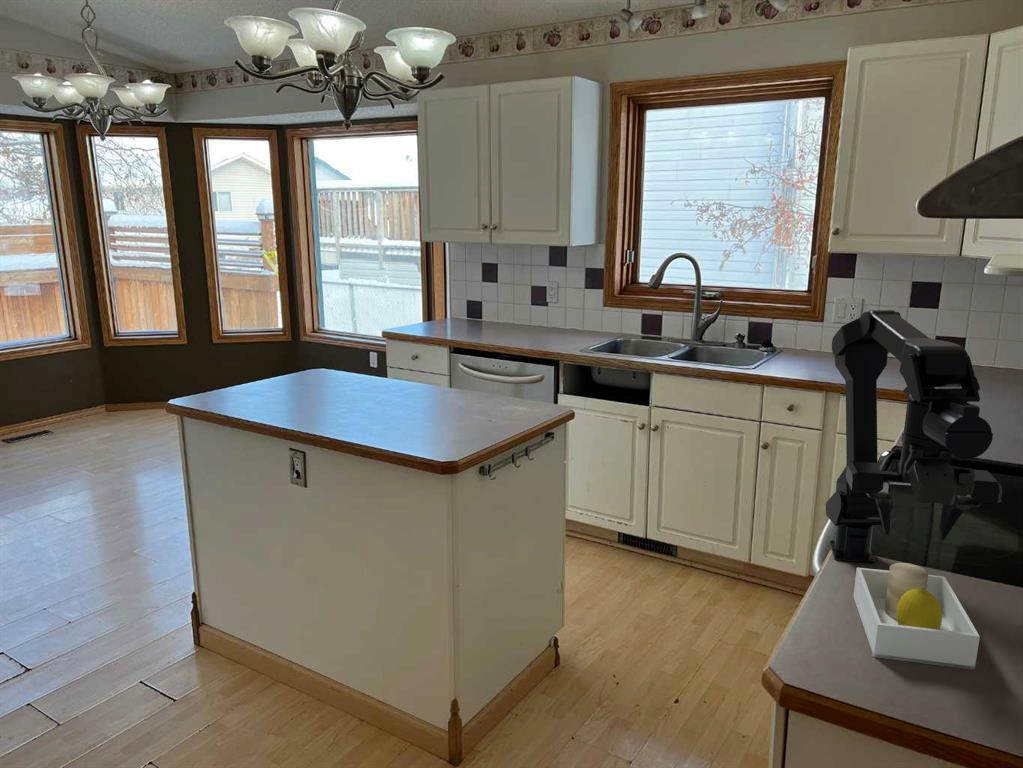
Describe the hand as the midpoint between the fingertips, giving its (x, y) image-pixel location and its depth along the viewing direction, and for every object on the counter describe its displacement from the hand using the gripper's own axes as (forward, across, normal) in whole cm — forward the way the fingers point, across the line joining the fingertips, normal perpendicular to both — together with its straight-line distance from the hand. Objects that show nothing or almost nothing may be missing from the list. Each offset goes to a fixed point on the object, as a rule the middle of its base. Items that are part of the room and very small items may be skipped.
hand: (913, 536), depth 107 cm
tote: (+13, 0, -4) cm, 13 cm away
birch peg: (+12, 0, 0) cm, 12 cm away
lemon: (+13, 0, -7) cm, 14 cm away
